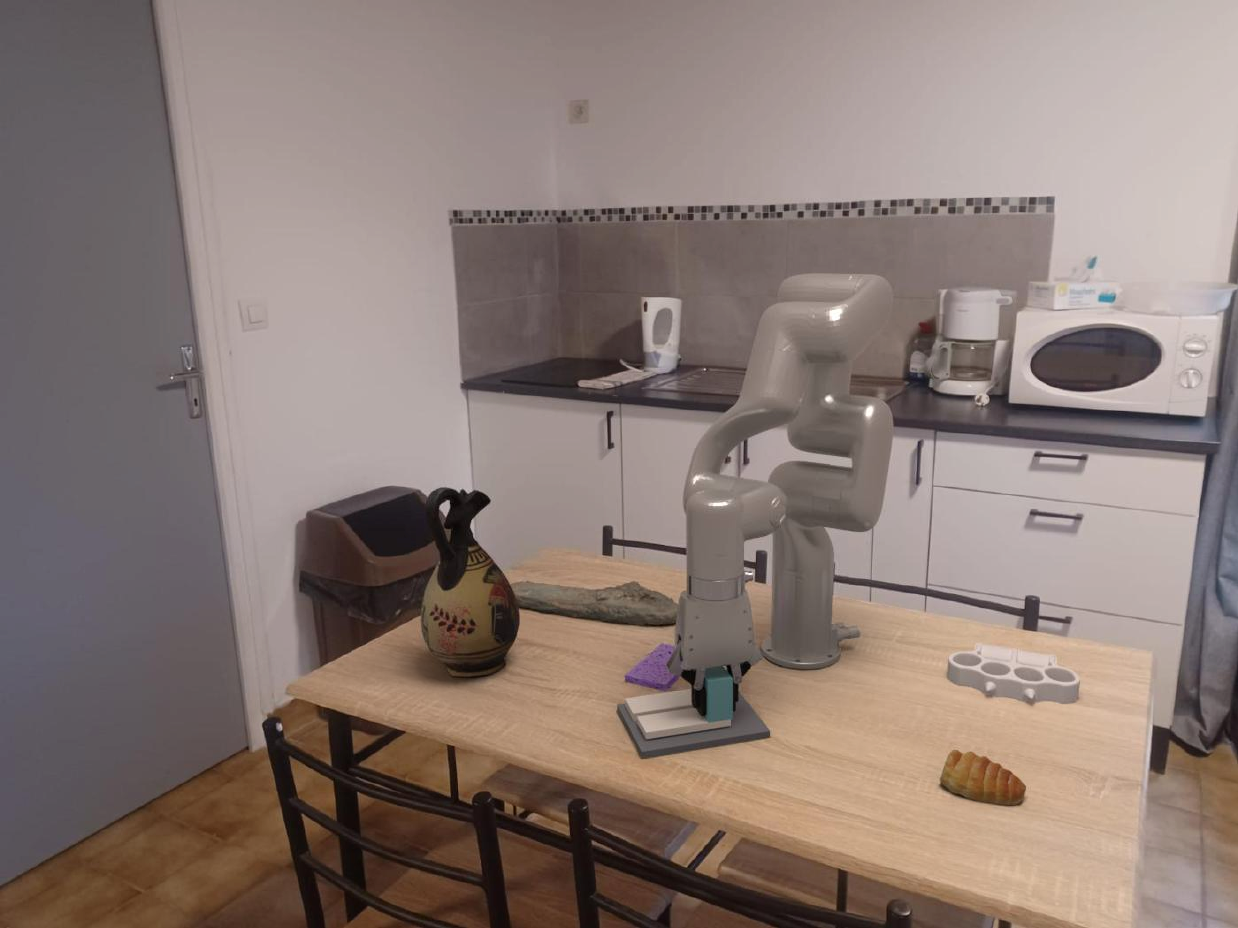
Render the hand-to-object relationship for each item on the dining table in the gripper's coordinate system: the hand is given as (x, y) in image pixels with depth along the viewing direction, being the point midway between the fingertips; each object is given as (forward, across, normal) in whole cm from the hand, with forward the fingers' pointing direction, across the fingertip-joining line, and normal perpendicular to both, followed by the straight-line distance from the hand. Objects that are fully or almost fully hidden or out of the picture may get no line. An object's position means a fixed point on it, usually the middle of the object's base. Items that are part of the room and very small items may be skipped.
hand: (714, 707), depth 128 cm
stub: (+2, +4, 0) cm, 5 cm away
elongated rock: (+4, +8, -46) cm, 46 cm away
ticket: (+2, +5, -5) cm, 7 cm away
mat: (+3, +3, -2) cm, 5 cm away
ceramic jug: (+3, +31, -29) cm, 42 cm away
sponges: (+4, +2, -19) cm, 19 cm away
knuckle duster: (+4, -47, 0) cm, 47 cm away
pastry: (+4, -26, +22) cm, 34 cm away
